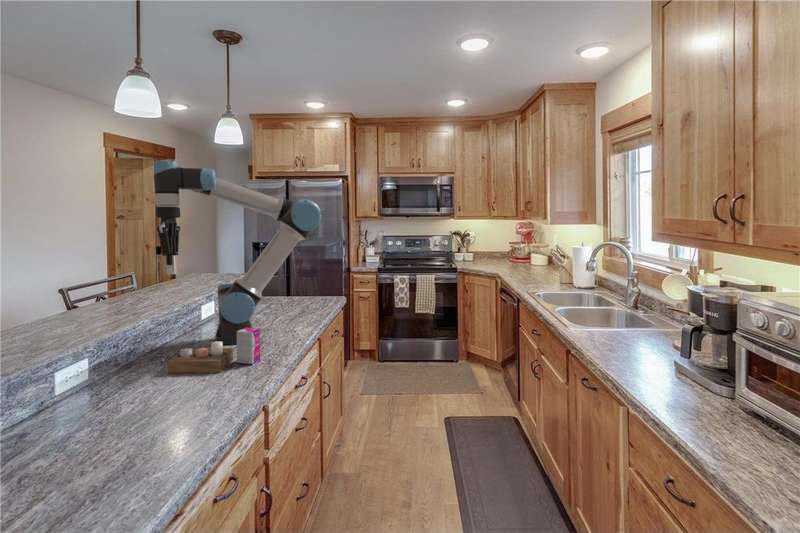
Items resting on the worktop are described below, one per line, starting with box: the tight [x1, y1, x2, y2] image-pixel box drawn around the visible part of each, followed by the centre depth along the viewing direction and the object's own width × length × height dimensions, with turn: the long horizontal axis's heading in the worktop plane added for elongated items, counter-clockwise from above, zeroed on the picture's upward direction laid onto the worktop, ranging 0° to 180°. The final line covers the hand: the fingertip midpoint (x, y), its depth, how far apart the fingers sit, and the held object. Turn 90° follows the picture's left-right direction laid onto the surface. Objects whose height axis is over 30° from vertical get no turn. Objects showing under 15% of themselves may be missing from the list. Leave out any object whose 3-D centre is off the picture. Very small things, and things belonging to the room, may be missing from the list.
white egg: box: [210, 341, 224, 356], centre depth 151 cm, size 4×4×5 cm
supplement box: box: [236, 327, 261, 366], centre depth 155 cm, size 6×6×12 cm
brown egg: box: [195, 347, 209, 357], centre depth 151 cm, size 4×4×5 cm
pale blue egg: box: [179, 347, 193, 357], centre depth 151 cm, size 4×4×5 cm
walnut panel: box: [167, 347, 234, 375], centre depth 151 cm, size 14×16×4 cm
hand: (171, 273), depth 161 cm, fingers closed
